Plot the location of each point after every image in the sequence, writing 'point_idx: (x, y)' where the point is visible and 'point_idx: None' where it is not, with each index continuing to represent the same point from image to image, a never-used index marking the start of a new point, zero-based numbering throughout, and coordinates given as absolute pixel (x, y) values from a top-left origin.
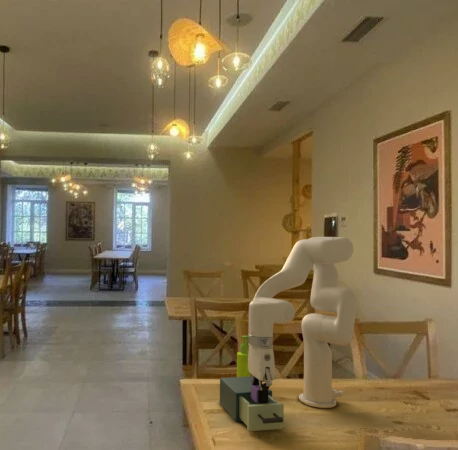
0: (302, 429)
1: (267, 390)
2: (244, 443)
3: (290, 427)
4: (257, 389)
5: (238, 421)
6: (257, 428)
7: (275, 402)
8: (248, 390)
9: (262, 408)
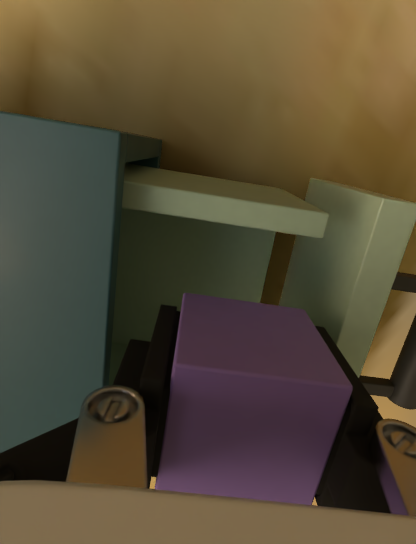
0: (356, 27)
1: (370, 411)
2: None
3: (300, 93)
4: (302, 502)
5: None
6: None
7: (321, 236)
8: (55, 382)
9: None
